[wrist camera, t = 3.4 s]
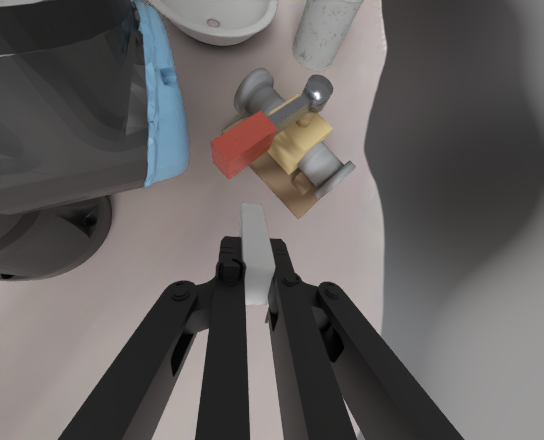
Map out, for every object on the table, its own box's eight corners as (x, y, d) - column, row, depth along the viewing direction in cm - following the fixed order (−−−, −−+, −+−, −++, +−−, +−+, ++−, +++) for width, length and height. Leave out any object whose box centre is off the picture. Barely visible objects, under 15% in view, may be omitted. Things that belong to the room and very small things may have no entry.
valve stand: (222, 136, 35) (220, 65, 23) (266, 108, 39) (285, 34, 27) (298, 218, 35) (337, 192, 23) (335, 183, 38) (387, 143, 26)
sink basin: (140, -27, 40) (125, -82, 33) (256, -12, 46) (261, -56, 40) (157, 71, 36) (142, 29, 29) (282, 73, 42) (291, 39, 36)
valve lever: (211, 160, 21) (208, 139, 17) (307, 96, 26) (320, 69, 22) (230, 181, 21) (231, 164, 17) (323, 113, 26) (338, 89, 22)
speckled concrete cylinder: (285, 38, 45) (307, -43, 33) (320, 36, 47) (352, -40, 36) (303, 73, 43) (332, 2, 32) (338, 68, 46) (376, 1, 34)
